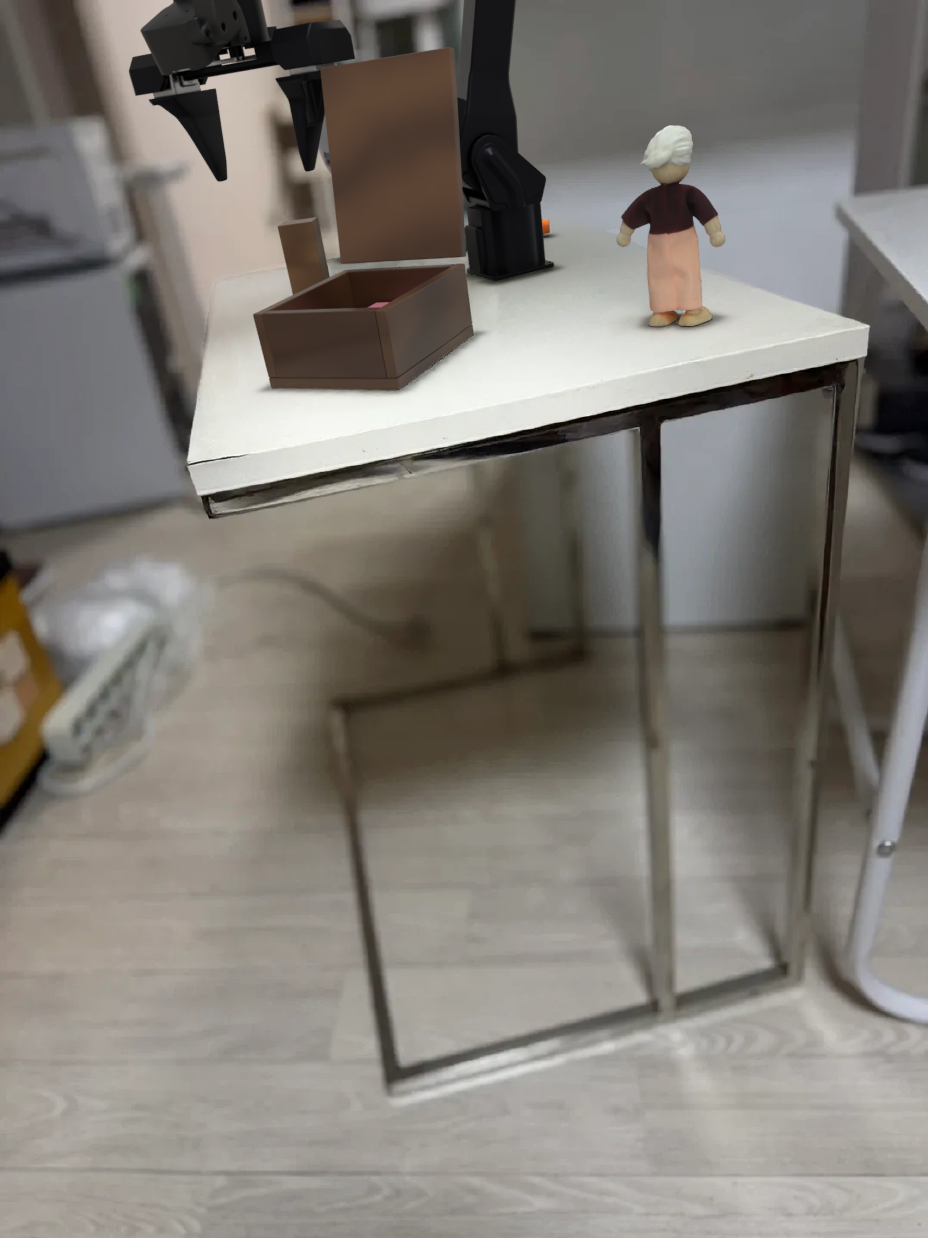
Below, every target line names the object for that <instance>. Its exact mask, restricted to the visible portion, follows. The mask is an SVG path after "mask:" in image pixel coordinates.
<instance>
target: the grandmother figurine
mask: <svg viewBox="0 0 928 1238" xmlns="http://www.w3.org/2000/svg"><path fill="white" fill-rule="evenodd" d="M692 138H693V135H692V134H691V130H689V129H687V128H686V127H685V126H682V125H667V126H665V127H664V128H662V129H661V130H659V131H657V132H656V133H655V135H654V136H653V137H652V138H650V141H649V143H648V144H647V147H646V150H645V151H644V154H643V159H642V161H641V163H640V166H644V167H645V168H646V169H648V170H649V171H650V172H651V174H652V177H653V178H654V180H656V182H658V183H659V184H660V185H657V186H654V187H651V188H649V189H647V190H645V191H644V192H642V193H641V194H640V195H638V196H637V197H636V198H635V199H633V201H632V202H631V203H630V204H629V205H628V207H627V208H626V209H625V210H624V212H623V213H622V214H621V216H620V218H621V220H622V221H621V224H620V227H619V233H618V234H617V236H616V239H615V242H616V244H617V246H619V247H620V248H625V247H627V246H629V245H630V243H631V241H632V235H633V234H634V233H635V231H636V229H639V228H642V227H644V226H646V225H649V230H648V234H647V246H646V247H647V248H646V249H647V250H646V251H647V252H646V277H647V280H646V281H647V288H648V298H649V299H648V301H649V311H651V312H653V313H652V314H651V316H650V319H649V322H648V326H650V327H665V326H669V325H670V324H672V323H675V321H676V320H678V323H677V325H679V326H681V327H694V326H697V325H701V324H703V323H705V322H708V321H710V320H711V319H713V315H712V312H711V310H710V309H709V308H707V307H706V306H703V285H702V273H701V257H700V243H699V236H698V232H697V230H696V226H695V222H694V218H695V219H696V220H697V221H698V222H699V224H701V226H702V227H703V228H704V230H705V233H706V235H708V237H709V243H710V245H711V246H712V247H714V248H720V247H722V246H723V245H725V243H726V235H725V233H724V232H723V231H722V224H721V221H720V219H719V213H718V211H717V210H716V208H715V207H714V205H713V203H712V202H711V201H710V199H709V198H708V197H707V195H706V194H705V193H704V192H703V191H702V190H701V189H700V188H697V187H696V186H694V185H691V184H686V183H681V182H682V181H683V180H684V179H685V178H686V177H687V175H688V173H689V171H690V168H691V159H692V154H693V147H694V143H693V139H692ZM677 311H685V312H684V313H683V314H682V315H681V316H680V318H679V315H678V313H677ZM678 318H679V319H678Z"/></svg>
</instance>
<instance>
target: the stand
mask: <svg viewBox="0 0 928 1238" xmlns="http://www.w3.org/2000/svg"><path fill="white" fill-rule="evenodd" d="M277 231H278V235H279V239H280V244H281V249H282V253H283V257H284V262H285V267H286V270H287V275H288V279H289V283H290V284H289V285H290V289H291V291H292V292H291V293H292V295H294V294H296V293H298V292H300V291H302V290H304V289H306V288H308V287H311V286H313V285H315V284H317V283H319V282H321V281H323V280H325V279H327V278H329V277H331V276H330V270H329V267H328V265H329V264H328V261H327V257H326V256H327V255H326V252H325V247H324V241H323V236H322V232H321V226H320V221H319V217H318V216H314V217H309V218H300V219H293V220H286V221H283V222H281V223H280V224H279V225H277Z"/></svg>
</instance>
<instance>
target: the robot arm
mask: <svg viewBox="0 0 928 1238" xmlns="http://www.w3.org/2000/svg"><path fill="white" fill-rule="evenodd" d="M516 4H517V0H463V7H462V8H463V10H462V22H461V34H460V35H461V38H460V50H459V64H458V72H457V76H456V86H457V103H458V121H459V139H460V156H461V174H462V191H463V198H464V199H465V201H466V202H467V203H468V204H474V205H471V206H468V207H466V216H467V225H464V227H465V238H466V246H467V249H466V255H467V260H468V262H467V263H468V267H467V268H466V274H468V275H471V276H475V277H478V278H482V279H484V280H488V281H492V282H500V281H505V280H508V279H512V278H517V277H520V276H521V277H522V276H524V275H528V274H529V275H530V274H532V273H536V272H541V271H545V270H549V269H553V268H555V262H554V261H553V260H552V261H551V260H548V259H546V250H545V239H544V234H543V226H542V220H543V216H542V214H543V213H542V203H541V202H542V201H543V197H544V193H545V188H546V183H547V177H546V175H545V174H543V173H542V171H540V170H539V169H537V167H535V166H534V165H533V164H532V163H531V162H530V161H528V160H527V159H526V158H525V157H524V156H523V155H521V153H519V137H518V136H519V135H518V133H519V132H518V116H517V112H516V111H517V110H516V107H515V101H514V97H513V93H512V92H513V91H512V88H511V87H512V86H511V82H510V68H511V56H512V46H513V38H514V37H513V36H514V26H515V25H514V24H515V14H516V6H517V5H516ZM139 31H140V33H141V35H142V38H143V39H144V41H145V45H146V46H147V47H148V50H149V52H150V53H146V54H140V55H135V56H133V57H132V58H131V61H130V65H129V69H128V75H129V79H130V82H131V86H132V90H133V92H134V96H135V97H138V96H145V95H151V94H152V95H153V98H149V99H148V102H149V103H150V104H151V105H152V107H154V106H159V107H161V108H163V109H164V110H165V111H166V112H168V113H169V114H171V116H173V117H174V118H175V119H176V120H177V121H178V122H179V123H180V125H181V126H182V128H183V129H184V130H185V132H186V133H187V135H188V137H189V138H190V139H191V141H192V143H193V144H194V146H195V147H196V149H197V151H198V152H199V154H200V156H201V157H202V159H203V161H204V162H205V164H206V166H207V167H208V169H209V170H210V172H211V174H212V176H213V177H214V179H215V181H216V182H218V183H220V182H225V181H227V180H228V163H227V153H226V147H225V139H224V133H223V126H222V120H221V113H220V105H219V99H218V92H217V88H210V89H202V88H201V86H206V84H207V83H208V82H207V81H208V79H209V78H214V77H218V76H225V75H229V74H236V73H242V72H246V71H253V70H259V69H264V68H271V67H276V66H279V67H280V68H282V70H284V71H289V75H285V76H280V77H275V82H276V83H277V85H278V86H279V88H280V89H281V91H282V92H283V94H284V95H285V98H286V99H287V102H288V105H289V110H290V115H291V120H292V125H293V129H294V135H295V140H296V145H297V150H298V154H299V157H300V161H301V164H302V167H303V170H304V171H305V172H306V173H308V172H312V171H314V170H315V169H316V164H317V159H318V154H319V149H318V148H319V143H320V137H321V132H322V126H323V121H324V116H325V109H324V99H323V90H322V80H321V71H320V68H324V67H330V66H336V65H338V63H340V62H347V61H351V60H355V59H356V56H355V49H354V44H353V38H352V35H351V33H350V32H349V30H348V28H347V27H346V25H345V23H343V22H342V21H341V19H334V20H320V21H311V22H306V23H299V24H295V25H290V26H283V27H280V28H278V27H277V25H274V26H268V23H267V19H266V15H265V10H264V6H263V1H262V0H172V3H171V4H169V5H168V6H165V7H164V8H163V9H162V10H160V11H159V12H158V13H157V14H156V15H155V16H154V17H152V19H150V20H149V21H148V22H146V24H145V25H143V26H142V27H141V28H140V30H139ZM250 49H253V51H254V54H250V55H246V54H245V50H250ZM224 55H229V57H228V58H222V59H221V56H224Z"/></svg>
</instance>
